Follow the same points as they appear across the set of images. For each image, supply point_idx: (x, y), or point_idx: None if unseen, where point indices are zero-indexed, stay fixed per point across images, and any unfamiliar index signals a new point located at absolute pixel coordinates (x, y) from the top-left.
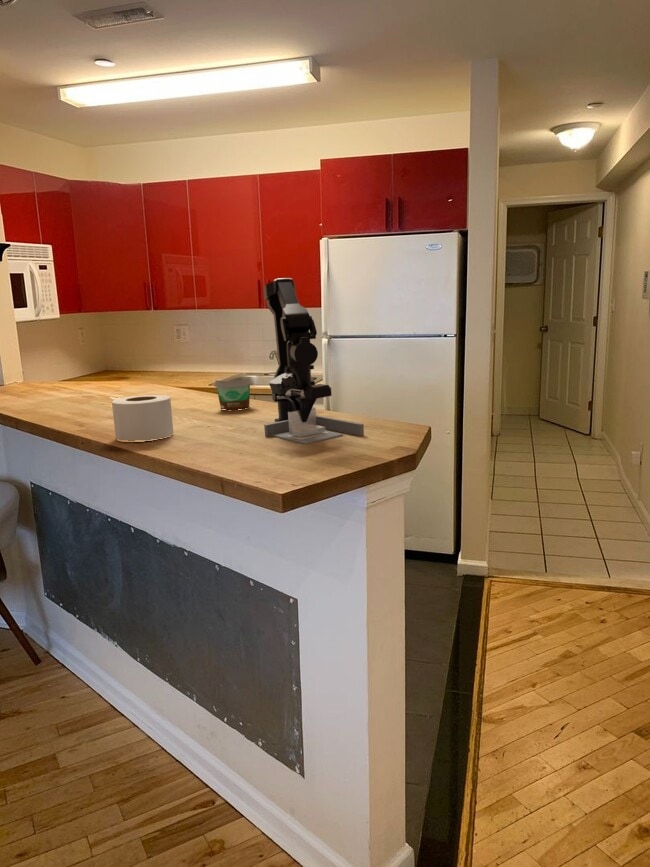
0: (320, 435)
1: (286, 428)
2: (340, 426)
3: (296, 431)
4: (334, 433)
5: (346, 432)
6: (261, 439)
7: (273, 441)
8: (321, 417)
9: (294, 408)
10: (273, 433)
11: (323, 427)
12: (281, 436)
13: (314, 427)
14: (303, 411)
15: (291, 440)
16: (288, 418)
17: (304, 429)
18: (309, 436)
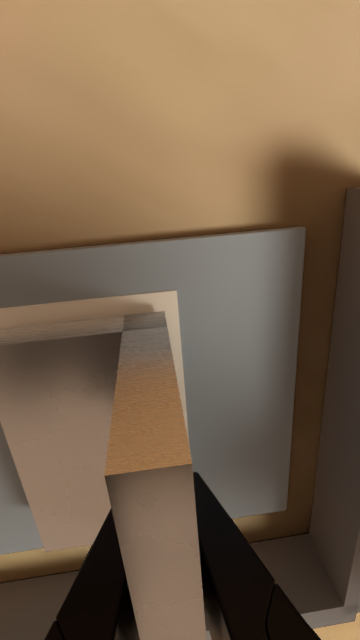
0: (7, 464)
1: (342, 381)
2: (55, 612)
3: (52, 343)
4: (5, 538)
5: (6, 587)
6: (299, 72)
7: (132, 114)
8: None
9: (267, 599)
10: (347, 254)
11: (43, 539)
12: (197, 246)
13: (92, 501)
14: (63, 613)
15: (31, 251)
16: (176, 391)
17: (80, 424)
18: None
